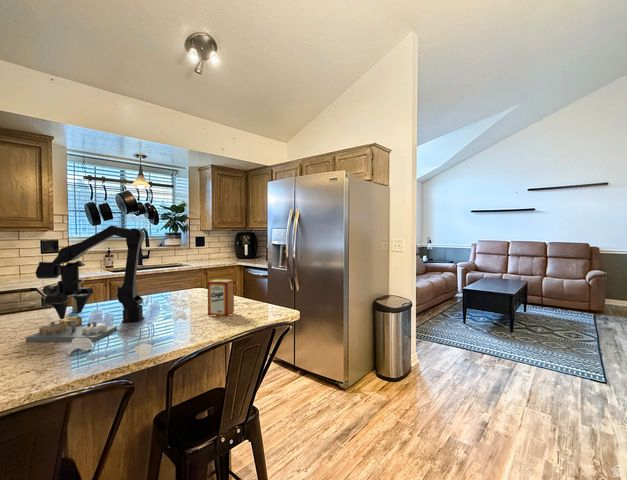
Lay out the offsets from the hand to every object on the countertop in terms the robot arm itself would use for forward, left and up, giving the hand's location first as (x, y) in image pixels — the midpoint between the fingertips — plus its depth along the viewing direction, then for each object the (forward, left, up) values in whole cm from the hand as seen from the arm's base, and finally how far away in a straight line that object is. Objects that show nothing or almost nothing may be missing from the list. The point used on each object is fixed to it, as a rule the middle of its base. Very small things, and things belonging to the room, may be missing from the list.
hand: (70, 315), depth 125 cm
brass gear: (0, 0, -4) cm, 4 cm away
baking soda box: (-57, -15, -4) cm, 59 cm away
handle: (+14, -22, -4) cm, 26 cm away
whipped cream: (-24, +27, -4) cm, 36 cm away
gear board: (-11, +13, -4) cm, 17 cm away
